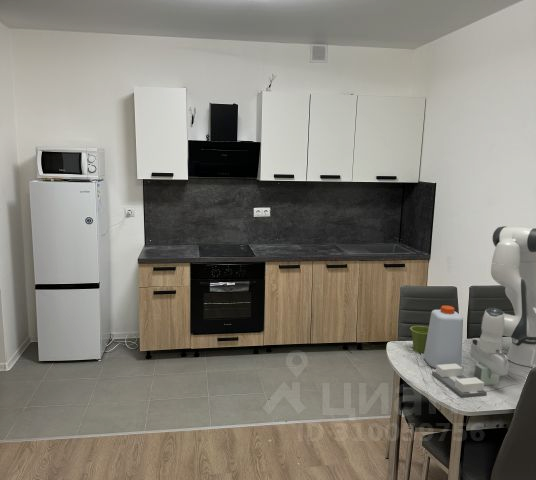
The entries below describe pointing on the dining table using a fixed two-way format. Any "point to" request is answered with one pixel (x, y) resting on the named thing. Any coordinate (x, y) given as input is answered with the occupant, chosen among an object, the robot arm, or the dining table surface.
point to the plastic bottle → (444, 337)
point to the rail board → (452, 386)
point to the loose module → (485, 375)
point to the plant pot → (419, 338)
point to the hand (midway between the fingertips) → (486, 375)
